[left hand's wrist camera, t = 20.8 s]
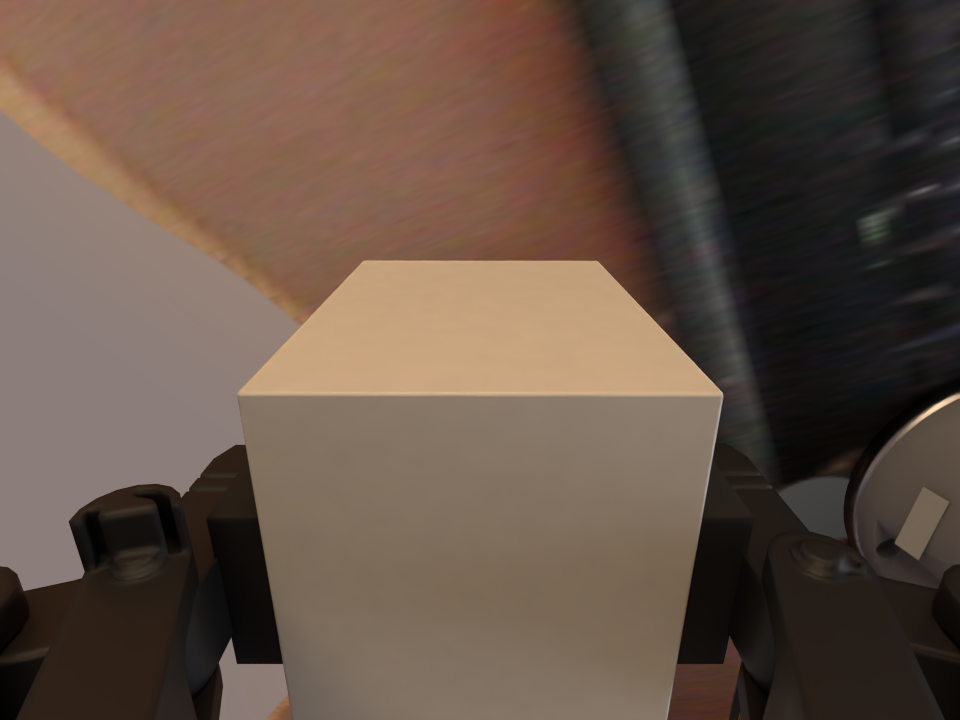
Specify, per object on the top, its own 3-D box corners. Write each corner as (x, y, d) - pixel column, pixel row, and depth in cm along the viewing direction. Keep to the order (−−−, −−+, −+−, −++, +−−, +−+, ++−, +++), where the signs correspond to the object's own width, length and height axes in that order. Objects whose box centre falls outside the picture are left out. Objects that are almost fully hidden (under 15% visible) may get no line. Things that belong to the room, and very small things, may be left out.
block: (379, 480, 17) (297, 756, 9) (362, 260, 14) (234, 392, 7) (581, 480, 17) (662, 756, 9) (598, 260, 14) (725, 392, 7)
